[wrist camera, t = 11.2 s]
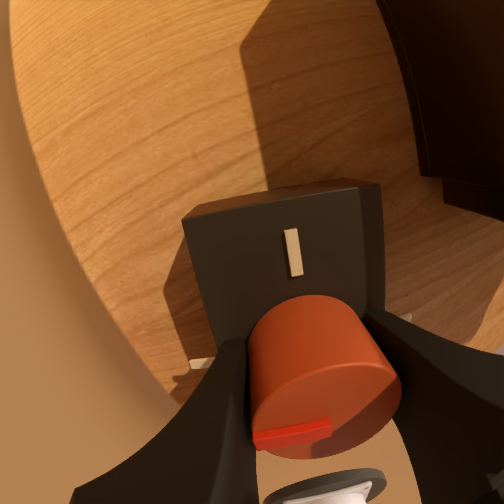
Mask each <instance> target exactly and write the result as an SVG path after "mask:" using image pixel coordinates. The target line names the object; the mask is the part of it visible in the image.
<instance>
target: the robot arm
mask: <svg viewBox="0 0 504 504" xmlns="http://www.w3.org/2000/svg"><path fill="white" fill-rule="evenodd" d="M364 326H365V328H366V329H367V331H368V332H369V333H370V335H371V336H372V338H373V339H374V341H375V342H376V344H377V345H378V347H379V348H380V350H381V351H382V353H383V354H384V356H385V357H386V359H387V360H388V362H389V363H390V365H391V366H392V368H393V369H394V371H395V372H396V374H397V375H398V377H399V379H400V381H401V385H402V397H401V401H400V405H399V407H398V409H397V411H396V413H395V414H394V416H393V417H392V419H393V420H394V422H395V424H396V426H397V428H398V430H399V432H400V434H401V436H402V439H403V442H404V444H405V447H406V450H407V452H408V455H409V458H410V461H411V464H412V467H413V471H414V474H415V477H416V481H417V485H418V489H419V492H420V497H421V501H422V504H504V356H503V355H498V354H493V353H488V352H484V351H480V350H477V349H473V348H470V347H467V346H463V345H461V344H458V343H455V342H452V341H450V340H447V339H445V338H442V337H440V336H438V335H435V334H433V333H431V332H429V331H426V330H424V329H422V328H420V327H418V326H416V325H414V324H412V323H410V322H408V321H406V320H404V319H402V318H400V317H398V316H396V315H394V314H392V313H389V312H387V311H385V310H383V309H380V308H379V309H375V310H372V311H368V312H364ZM371 486H372V483H371V481H367V482H364V483H361V484H357V485H354V486H351V487H347V488H344V489H340V490H336V491H332V492H328V493H323V494H319V495H314V496H309V497H304V498H299V499H293V500H286V501H283V502H282V504H366V502H365V500H366V498H367V496H368V493H369V491H370V488H371ZM69 504H259V496H258V486H257V475H256V448H255V445H254V443H253V440H252V431H251V417H250V392H249V364H248V354H247V350H246V346H245V342H244V338H236V339H230V340H225V341H224V342H223V343H222V345H221V347H220V349H219V351H218V353H217V355H216V357H215V359H214V360H213V362H212V364H211V366H210V367H209V369H208V371H207V372H206V374H205V375H204V377H203V379H202V380H201V382H200V383H199V385H198V386H197V388H196V389H195V390H194V392H193V393H192V395H191V396H190V397H189V399H188V400H187V401H186V403H185V404H184V405H183V407H182V408H181V409H180V410H179V412H178V413H177V414H176V415H175V416H174V417H173V418H172V420H171V421H170V422H169V423H168V424H167V425H166V426H165V427H164V428H163V429H162V430H161V431H160V432H159V433H158V434H157V435H156V436H155V437H154V438H152V439H151V440H150V441H149V442H148V443H147V444H146V445H145V446H144V447H142V448H141V449H140V450H139V451H137V452H136V453H135V454H133V455H132V456H131V457H129V458H128V459H127V460H125V461H124V462H122V463H121V464H119V465H118V466H116V467H115V468H113V469H112V470H110V471H108V472H107V473H105V474H103V475H101V476H99V477H97V478H96V479H94V480H92V481H90V482H88V483H86V484H84V485H82V486H80V487H77V488H75V490H74V492H73V495H72V498H71V500H70V503H69Z"/></svg>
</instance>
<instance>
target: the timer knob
mask: <svg viewBox="0 0 504 504" xmlns="http://www.w3.org/2000/svg"><path fill="white" fill-rule="evenodd" d="M248 364H249V392H250V417H251V431H252V440H253V443H254V445H255V448H256V450H257V451H261V450H266V451H268V452H270V453H272V454H274V455H277V456H280V457H285V458H290V459H316V458H323V457H328V456H332V455H336V454H339V453H342V452H344V451H347V450H350V449H352V448H354V447H356V446H358V445H360V444H362V443H364V442H365V441H367V440H368V439H370V438H371V437H373V436H374V435H375V434H377V433H378V432H379V431H380V430H381V429H382V428H383V427H384V426H385V425H386V424H387V423H388V422H389V421H390V420H391V418H392V417H393V416H394V414H395V413H396V411H397V409H398V407H399V405H400V401H401V397H402V385H401V381H400V379H399V377H398V375H397V374H396V372H395V371H394V369H393V368H392V366H391V365H390V363H389V362H388V360H387V359H386V357H385V356H384V354H383V353H382V351H381V350H380V348H379V347H378V345H377V344H376V342H375V341H374V339H373V338H372V336H371V335H370V333H369V332H368V331H367V329H366V328H365V326H364V325H363V323H362V322H361V321H360V319H359V318H358V316H357V315H356V313H355V312H354V311H353V310H352V309H351V308H350V307H349V306H348V305H347V304H346V303H344V302H342V301H340V300H338V299H336V298H333V297H329V296H324V295H305V296H299V297H296V298H292V299H289V300H287V301H284V302H282V303H280V304H279V305H277V306H275V307H274V308H272V309H271V310H269V311H268V312H267V313H266V314H265V315H264V316H263V317H262V318H261V319H260V320H259V321H258V323H257V324H256V326H255V327H254V329H253V331H252V333H251V336H250V339H249V343H248Z"/></svg>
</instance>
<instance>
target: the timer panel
mask: <svg viewBox="0 0 504 504" xmlns="http://www.w3.org/2000/svg"><path fill="white" fill-rule="evenodd" d="M181 221H182V225H183V229H184V233H185V237H186V241H187V245H188V249H189V253H190V257H191V260H192V264H193V268H194V271H195V275H196V279H197V282H198V286H199V289H200V293H201V296H202V300H203V303H204V306H205V310H206V313H207V316H208V320H209V323H210V326H211V330H212V333H213V336H214V339H215V342H216V345H217V348H218V351H219V349H220V347H221V345H222V343H223V342H224V341H225V340H230V339H236V338H244V342H245V346H246V350H247V354H248V343H249V339H250V336H251V333H252V331H253V329H254V327H255V326H256V324H257V323H258V321H259V320H260V319H261V318H262V317H263V316H264V315H265V314H266V313H267V312H268V311H269V310H271V309H272V308H274V307H275V306H277V305H279V304H280V303H282V302H284V301H287V300H289V299H292V298H296V297H299V296H305V295H324V296H329V297H333V298H336V299H338V300H340V301H342V302H344V303H346V304H347V305H348V306H349V307H350V308H351V309H352V310H353V311H354V312H355V313H356V315H357V316H358V318H359V319H360V321H361V322H362V323H363V325H364V312H368V311H372V310H375V309H379V308H380V309H383V310H385V244H384V226H383V212H382V201H381V191H380V184H378V183H373V182H367V181H361V180H355V179H348V178H343V179H336V180H329V181H323V182H316V183H310V184H304V185H298V186H292V187H286V188H280V189H275V190H269V191H264V192H258V193H253V194H248V195H243V196H238V197H233V198H228V199H223V200H218V201H214V202H209V203H204V204H200V205H197V206H196V207H195V208H194V209H193V210H192V211H190V212H189V213H188V214H187V215H186V216H185V217H184V218H183V219H182V220H181ZM411 316H412V315H411V313H407V314H404V315H401V316H398V317H400V318H402V319H404V320H406V321H408V322H411ZM214 359H215V357H209V358H201V359H192V360H190V361H189V363H190V366H191V368H192V370H193V369H202V368H209V367H210V366H211V364H212V362H213V360H214Z"/></svg>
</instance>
